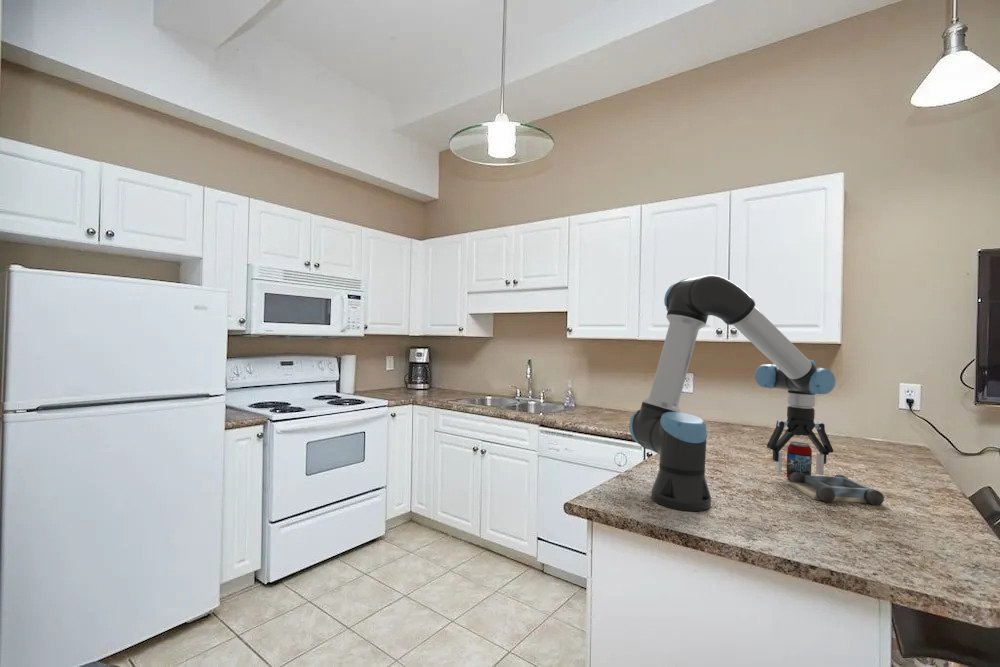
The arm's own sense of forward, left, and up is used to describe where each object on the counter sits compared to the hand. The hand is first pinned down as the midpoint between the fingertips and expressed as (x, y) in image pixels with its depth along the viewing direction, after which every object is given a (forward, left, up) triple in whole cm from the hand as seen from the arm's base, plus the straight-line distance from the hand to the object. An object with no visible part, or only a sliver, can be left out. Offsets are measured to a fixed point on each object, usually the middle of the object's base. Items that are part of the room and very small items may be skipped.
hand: (798, 472), depth 152 cm
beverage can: (0, 0, -3) cm, 3 cm away
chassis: (+3, -13, -3) cm, 14 cm away
